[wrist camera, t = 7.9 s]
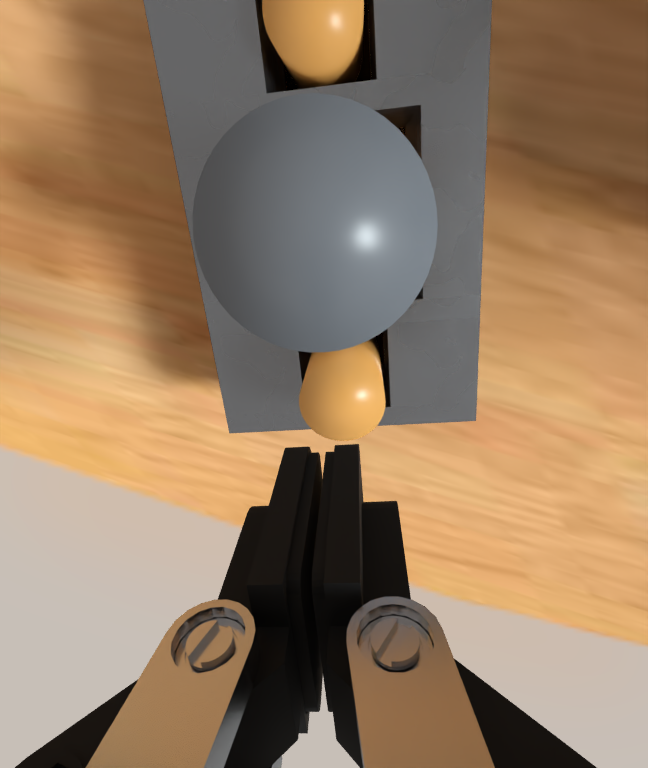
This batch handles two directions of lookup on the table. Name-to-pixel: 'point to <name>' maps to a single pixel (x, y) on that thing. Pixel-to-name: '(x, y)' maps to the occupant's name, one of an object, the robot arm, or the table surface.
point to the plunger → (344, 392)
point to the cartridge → (315, 222)
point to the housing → (423, 130)
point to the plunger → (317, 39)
